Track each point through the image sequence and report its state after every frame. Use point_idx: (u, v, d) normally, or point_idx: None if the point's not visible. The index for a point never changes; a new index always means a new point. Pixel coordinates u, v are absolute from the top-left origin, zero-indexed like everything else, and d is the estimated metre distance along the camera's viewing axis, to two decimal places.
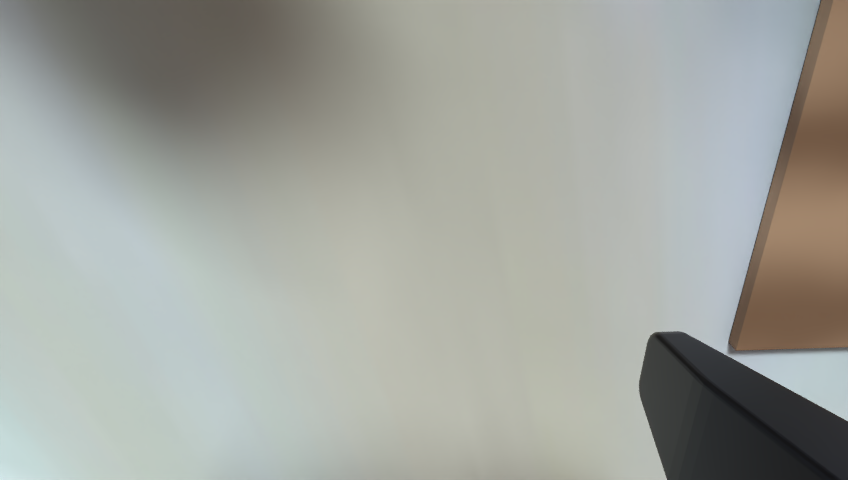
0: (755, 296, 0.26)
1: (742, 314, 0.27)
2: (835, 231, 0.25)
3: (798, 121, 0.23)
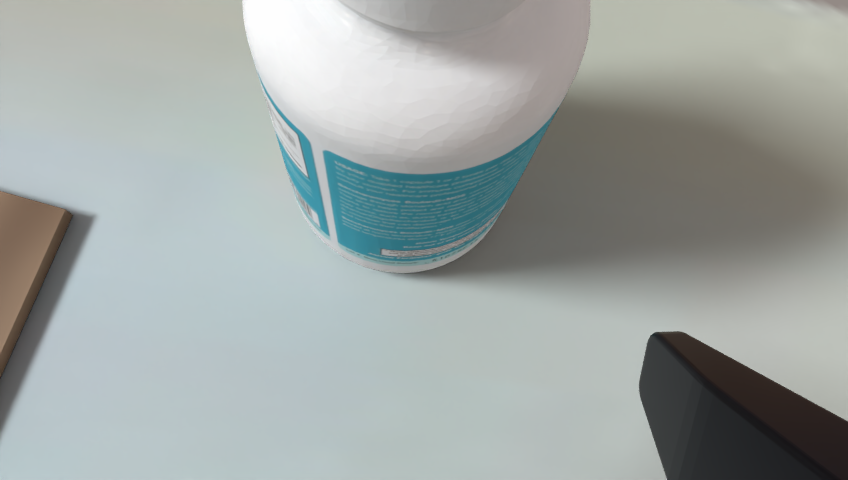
0: None
1: None
2: None
3: None
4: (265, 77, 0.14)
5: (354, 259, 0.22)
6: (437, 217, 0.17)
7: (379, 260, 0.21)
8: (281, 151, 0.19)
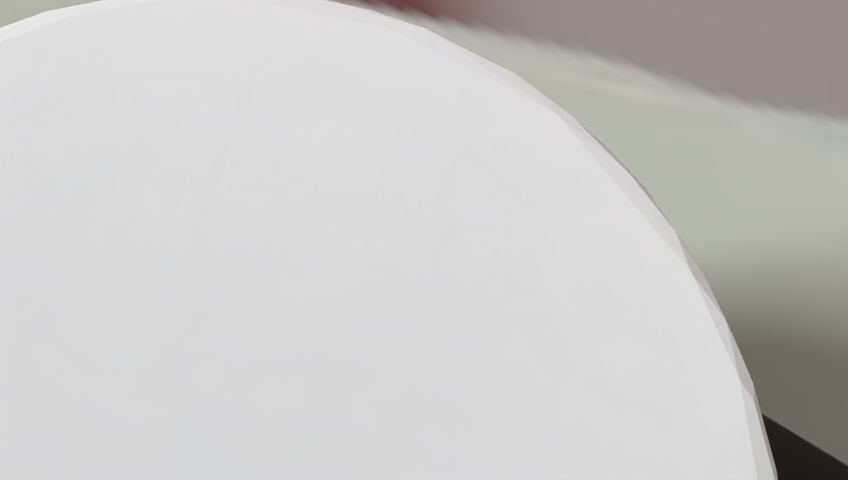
0: None
1: None
2: None
3: None
4: None
5: None
6: None
7: None
8: None
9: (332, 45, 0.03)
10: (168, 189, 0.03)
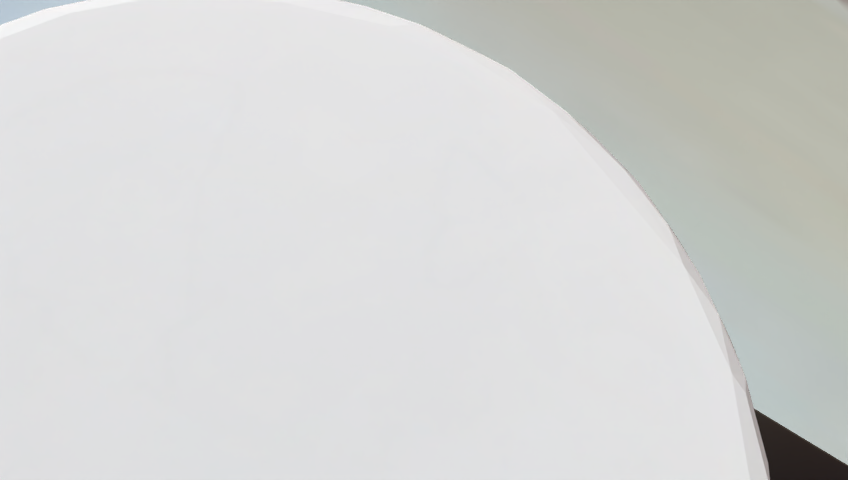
0: None
1: None
2: None
3: None
4: None
5: None
6: None
7: None
8: None
9: (326, 41, 0.03)
10: (164, 183, 0.03)
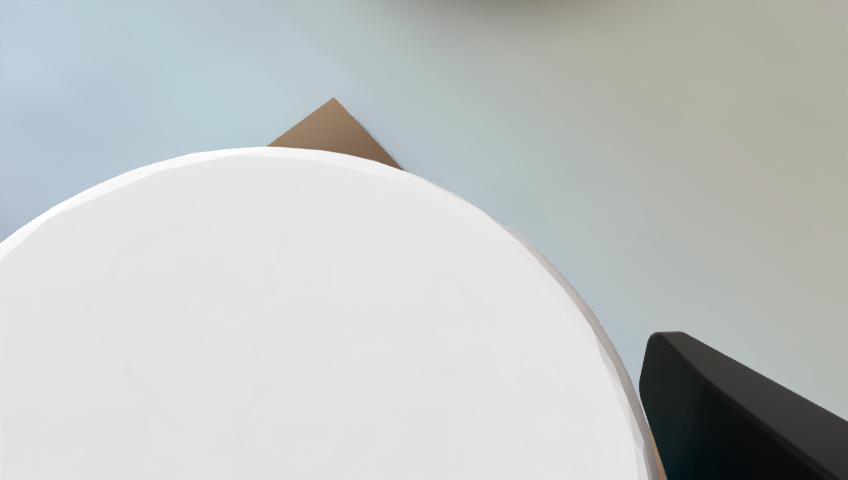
0: None
1: None
2: None
3: None
4: None
5: None
6: None
7: None
8: None
9: (346, 190, 0.04)
10: (233, 301, 0.04)
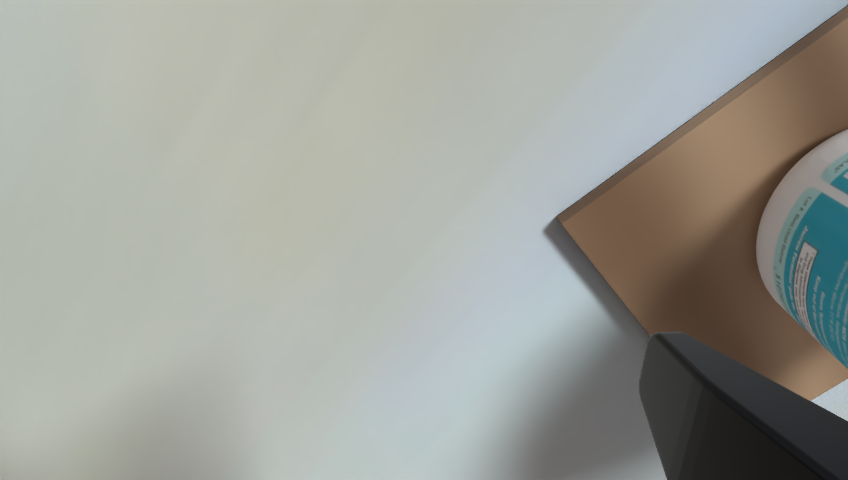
0: (629, 181, 0.22)
1: (600, 192, 0.22)
2: (738, 182, 0.22)
3: (821, 35, 0.20)
4: None
5: (788, 193, 0.21)
6: None
7: (792, 230, 0.21)
8: None
9: None
10: None
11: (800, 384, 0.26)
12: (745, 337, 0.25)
